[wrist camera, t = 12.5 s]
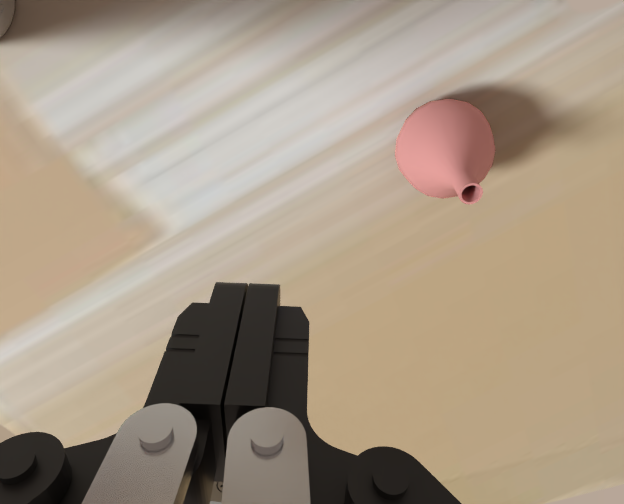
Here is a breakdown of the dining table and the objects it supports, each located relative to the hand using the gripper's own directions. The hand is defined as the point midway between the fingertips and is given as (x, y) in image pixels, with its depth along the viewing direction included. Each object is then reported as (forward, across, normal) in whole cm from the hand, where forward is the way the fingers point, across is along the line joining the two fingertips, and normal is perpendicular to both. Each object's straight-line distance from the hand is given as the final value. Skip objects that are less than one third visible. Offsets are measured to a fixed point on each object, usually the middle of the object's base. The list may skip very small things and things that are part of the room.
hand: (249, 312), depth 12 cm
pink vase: (+32, -12, +6) cm, 35 cm away
